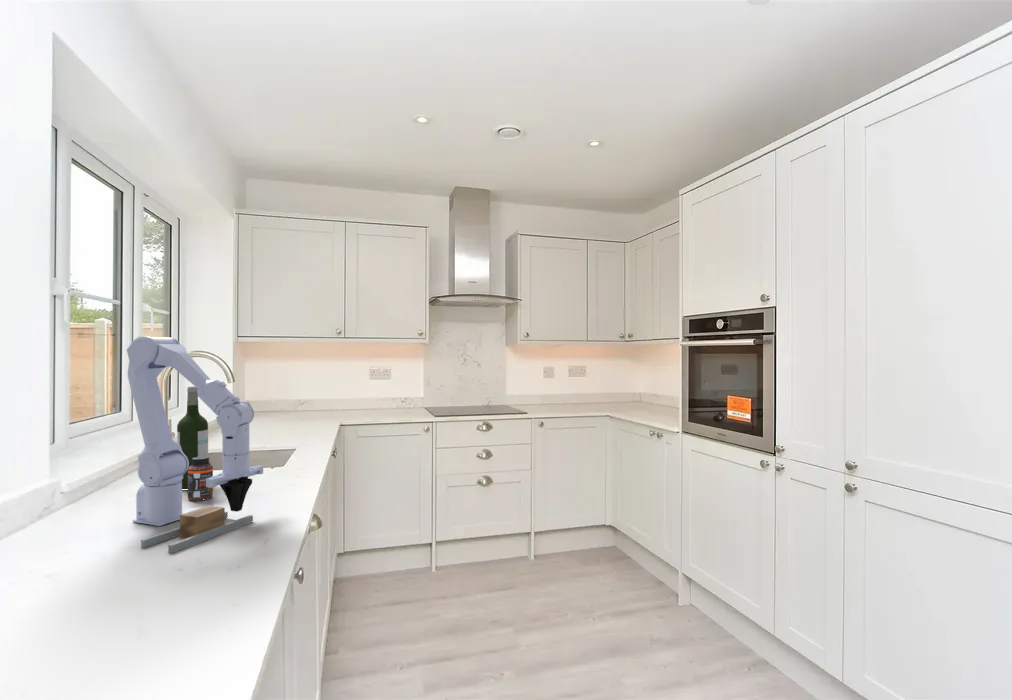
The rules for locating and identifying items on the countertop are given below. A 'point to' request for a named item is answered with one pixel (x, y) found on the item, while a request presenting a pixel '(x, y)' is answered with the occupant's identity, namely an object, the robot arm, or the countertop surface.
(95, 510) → the countertop surface
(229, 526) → the channel
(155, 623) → the countertop surface
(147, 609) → the countertop surface
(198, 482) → the supplement bottle
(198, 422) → the wine bottle
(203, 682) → the countertop surface
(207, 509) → the brown rectangular block
